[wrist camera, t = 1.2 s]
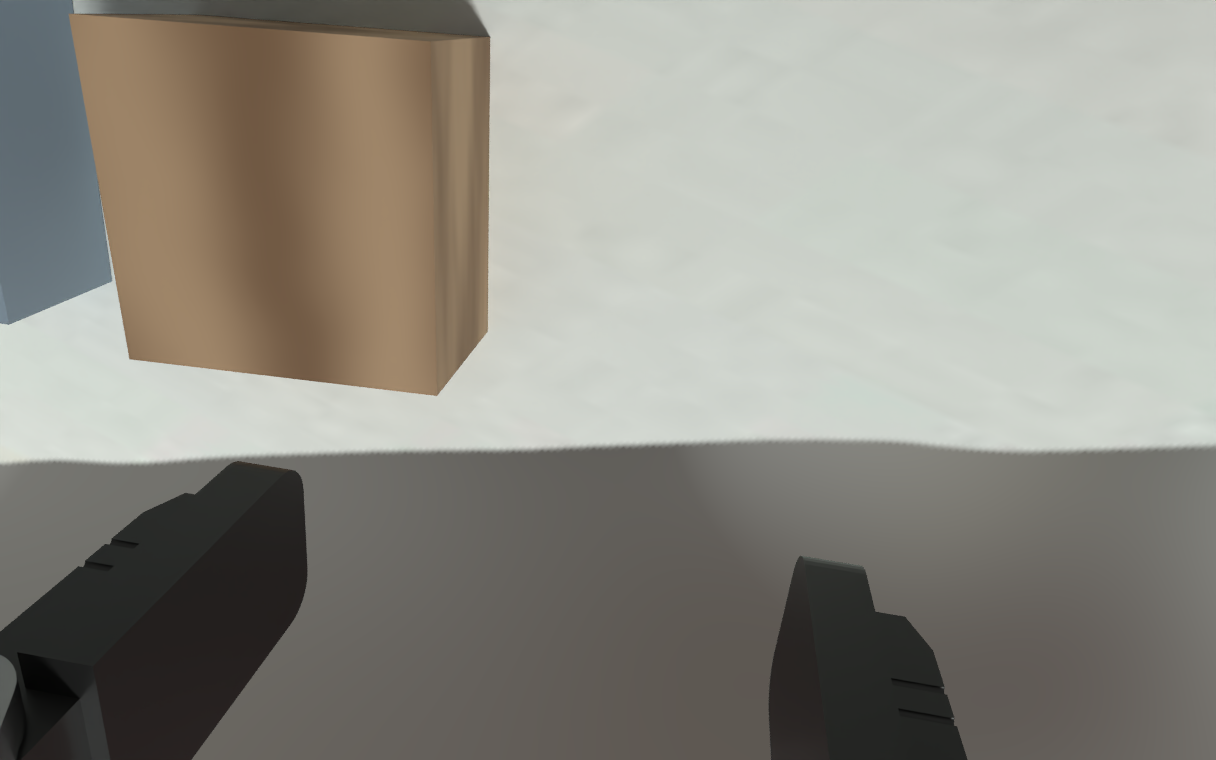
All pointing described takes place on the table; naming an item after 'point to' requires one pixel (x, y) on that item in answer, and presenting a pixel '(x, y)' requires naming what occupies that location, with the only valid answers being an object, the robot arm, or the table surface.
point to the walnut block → (292, 194)
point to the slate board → (45, 165)
